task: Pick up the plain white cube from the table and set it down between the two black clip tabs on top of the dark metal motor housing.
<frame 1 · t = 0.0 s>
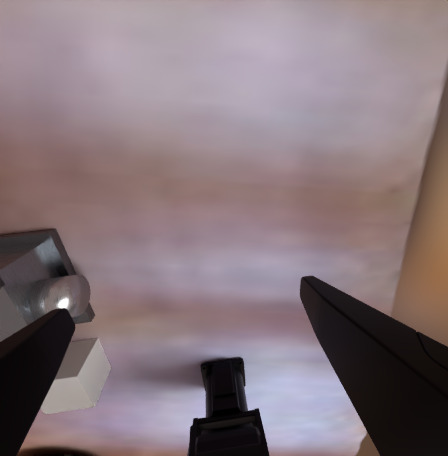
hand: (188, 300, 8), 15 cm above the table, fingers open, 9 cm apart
plain white cube: (83, 355, 29), on the table
motor housing: (23, 283, 23), on the table
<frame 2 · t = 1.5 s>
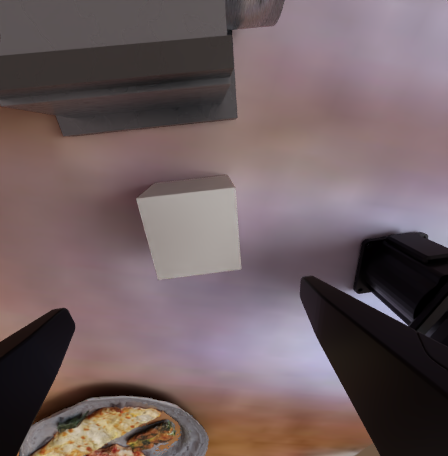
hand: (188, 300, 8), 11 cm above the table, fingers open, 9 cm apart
food plate: (123, 431, 31), on the table
plain white cube: (196, 212, 18), on the table
motor housing: (132, 20, 13), on the table
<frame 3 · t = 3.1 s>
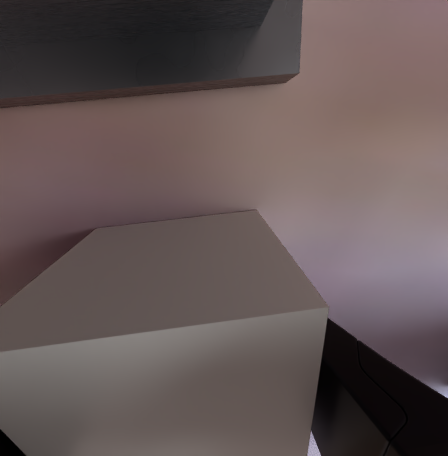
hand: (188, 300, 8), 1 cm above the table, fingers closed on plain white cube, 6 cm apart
plain white cube: (190, 283, 9), on the table, touching gripper
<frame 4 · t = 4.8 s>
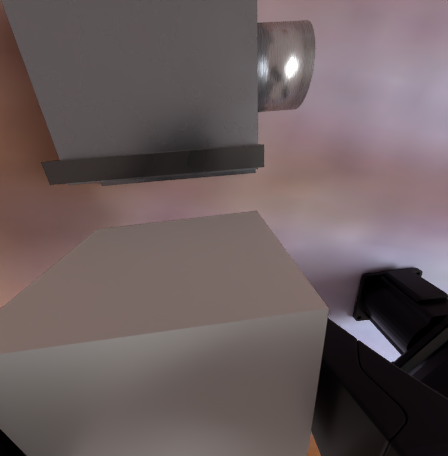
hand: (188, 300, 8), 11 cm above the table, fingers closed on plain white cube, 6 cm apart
plain white cube: (190, 284, 9), point 10 cm above the table, touching gripper
motor housing: (168, 91, 15), on the table
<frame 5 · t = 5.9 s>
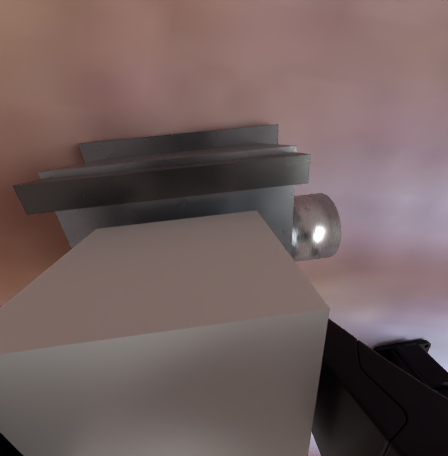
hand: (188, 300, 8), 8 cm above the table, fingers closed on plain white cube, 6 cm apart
plain white cube: (190, 284, 9), point 7 cm above the table, touching gripper
motor housing: (195, 220, 16), on the table
when the fingers open (8 cm above the table, at t = 6.9 s): plain white cube stays where it is, resting on motor housing.
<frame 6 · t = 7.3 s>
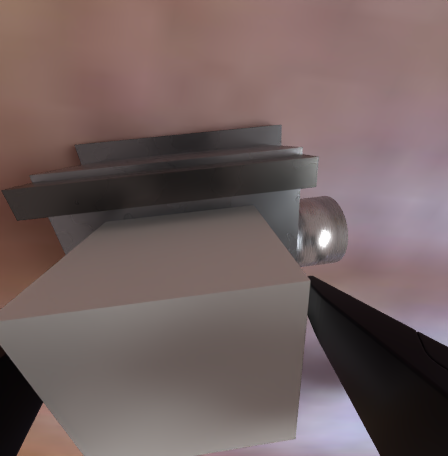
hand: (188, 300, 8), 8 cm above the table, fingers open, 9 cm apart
plain white cube: (192, 274, 10), point 6 cm above the table, touching motor housing
motor housing: (195, 223, 15), on the table
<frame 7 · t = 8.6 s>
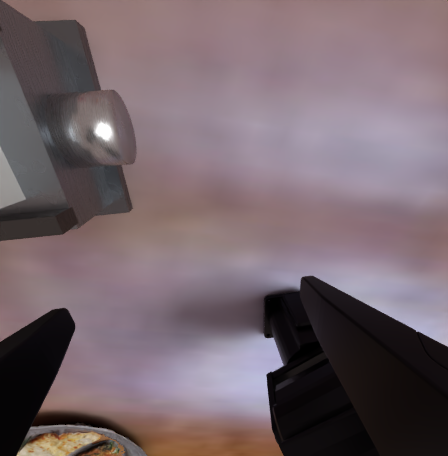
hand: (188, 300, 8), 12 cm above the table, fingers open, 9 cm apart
food plate: (71, 450, 34), on the table
motor housing: (28, 138, 15), on the table
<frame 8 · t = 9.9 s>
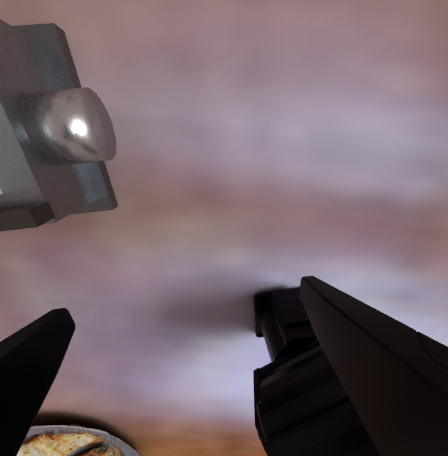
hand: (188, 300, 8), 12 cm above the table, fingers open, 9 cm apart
food plate: (67, 452, 34), on the table
motor housing: (14, 139, 16), on the table
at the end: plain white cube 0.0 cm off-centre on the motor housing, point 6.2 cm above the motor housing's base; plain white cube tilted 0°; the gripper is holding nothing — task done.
